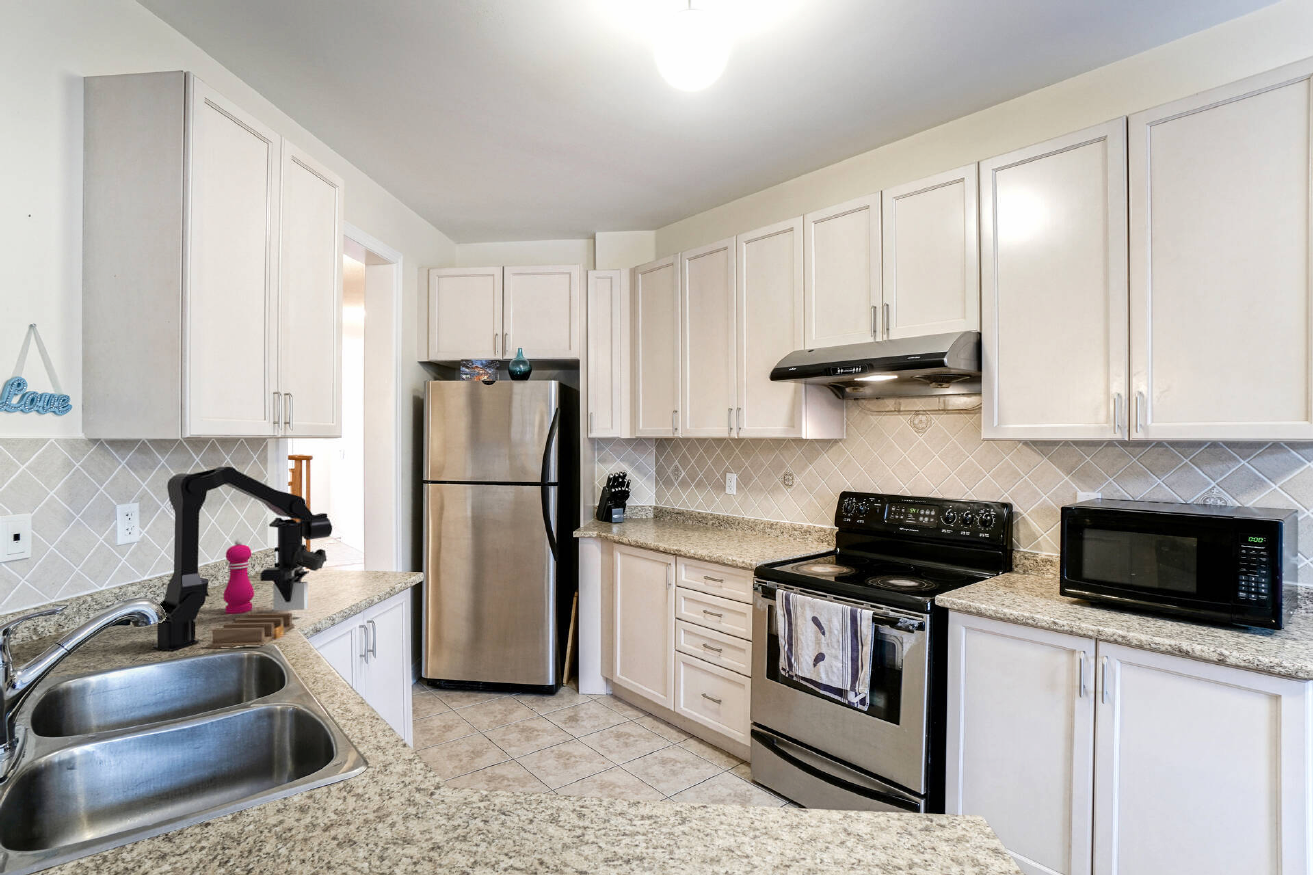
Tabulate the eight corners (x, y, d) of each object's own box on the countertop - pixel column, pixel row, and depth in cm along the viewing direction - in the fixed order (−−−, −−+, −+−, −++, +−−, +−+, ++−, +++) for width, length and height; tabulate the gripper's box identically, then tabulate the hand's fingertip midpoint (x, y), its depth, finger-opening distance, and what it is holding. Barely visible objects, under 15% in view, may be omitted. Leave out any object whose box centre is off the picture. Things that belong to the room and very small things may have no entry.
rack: (261, 647, 150) (261, 630, 150) (209, 648, 150) (209, 631, 150) (296, 627, 166) (296, 611, 166) (249, 628, 166) (249, 612, 166)
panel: (304, 609, 174) (304, 583, 174) (273, 610, 174) (273, 583, 174) (307, 607, 176) (307, 581, 176) (277, 608, 176) (277, 582, 176)
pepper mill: (260, 607, 186) (259, 537, 186) (241, 614, 179) (241, 541, 179) (236, 607, 187) (236, 537, 187) (217, 614, 180) (216, 541, 180)
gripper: (304, 547, 166) (304, 609, 166) (336, 536, 185) (336, 592, 185) (258, 548, 166) (259, 610, 166) (295, 537, 184) (296, 592, 184)
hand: (290, 600), depth 175 cm, fingers closed on panel, 2 cm apart
